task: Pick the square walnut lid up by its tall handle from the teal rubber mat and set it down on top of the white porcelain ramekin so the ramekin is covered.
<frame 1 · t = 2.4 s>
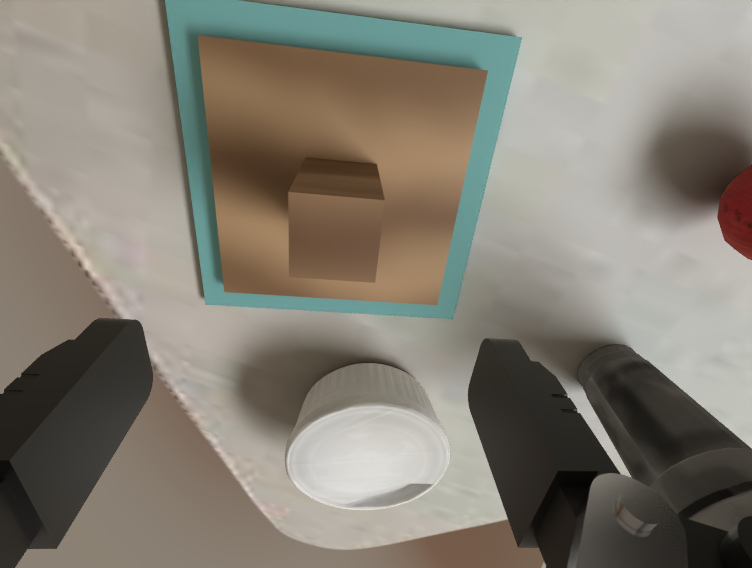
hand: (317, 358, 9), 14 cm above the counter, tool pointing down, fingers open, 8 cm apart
pomegranate: (729, 188, 23), on the counter
mat: (340, 188, 22), on the counter
lid: (340, 190, 21), resting on mat
beverage cup: (605, 366, 30), on the counter
ramekin: (365, 402, 31), on the counter
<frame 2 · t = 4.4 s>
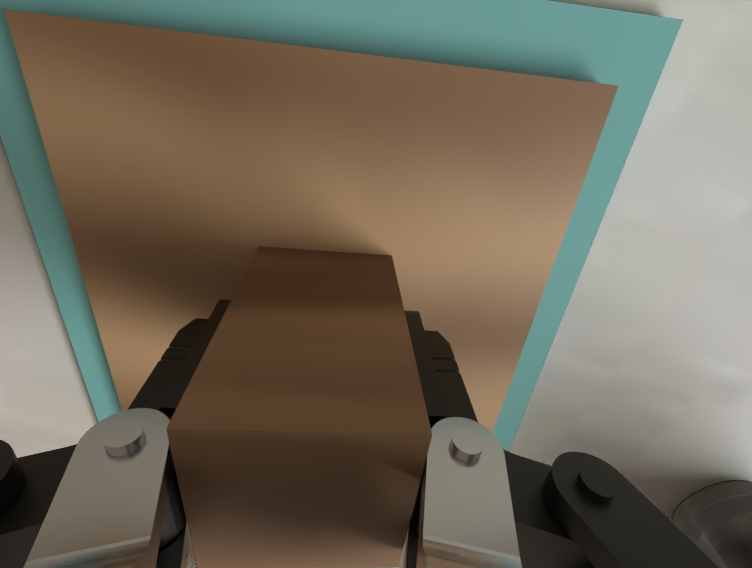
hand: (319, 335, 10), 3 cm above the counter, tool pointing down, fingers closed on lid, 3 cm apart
mat: (325, 285, 13), on the counter
lid: (325, 292, 12), resting on mat, touching gripper
beverage cup: (713, 503, 21), on the counter
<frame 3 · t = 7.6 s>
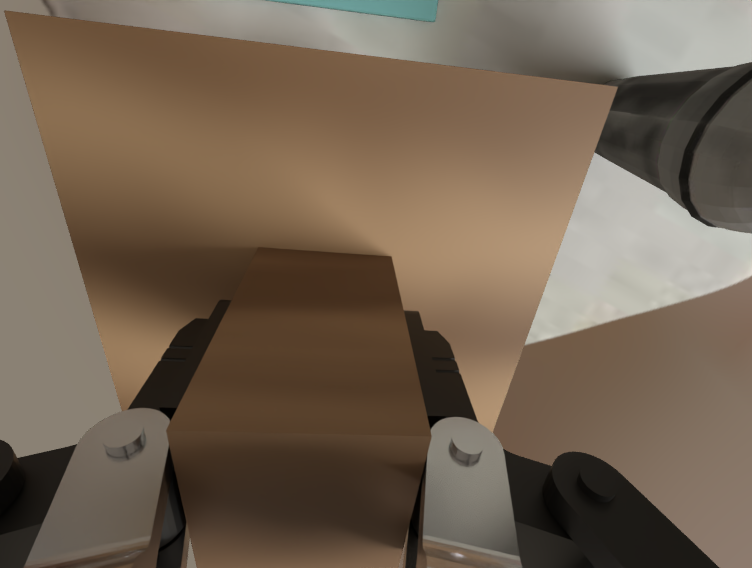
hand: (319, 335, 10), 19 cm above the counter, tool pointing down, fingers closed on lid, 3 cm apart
lid: (325, 293, 12), point 17 cm above the counter, touching gripper
beverage cup: (608, 116, 27), on the counter
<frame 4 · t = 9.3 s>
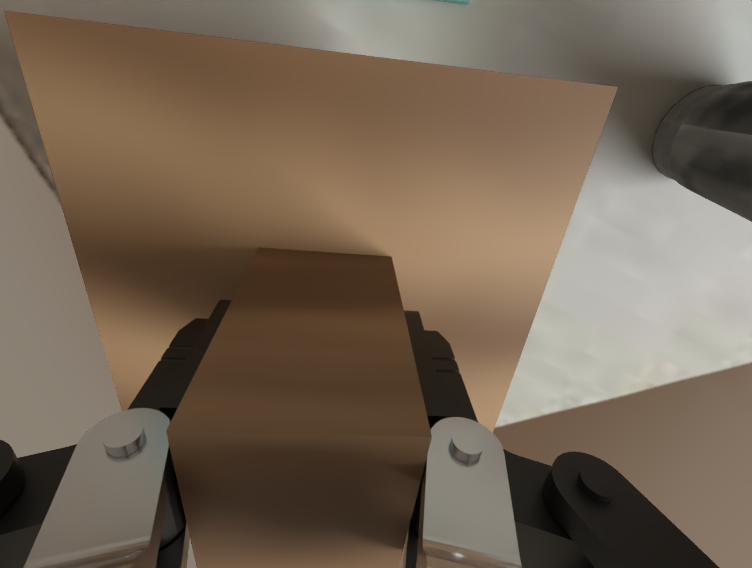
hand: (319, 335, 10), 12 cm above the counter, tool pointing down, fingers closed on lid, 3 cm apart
lid: (325, 293, 12), point 9 cm above the counter, touching gripper
beverage cup: (694, 134, 20), on the counter
when the fingers open (9 cm above the counter, at t = 10.8 s): lid drops 1 cm, resting on ramekin.
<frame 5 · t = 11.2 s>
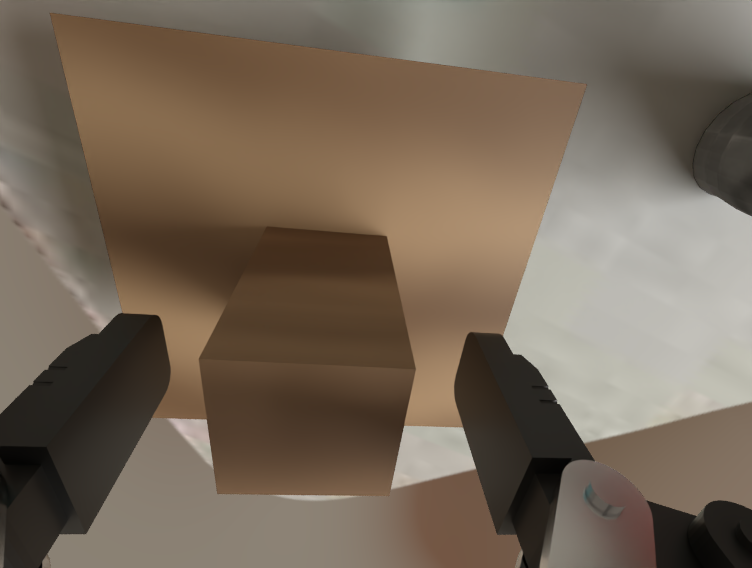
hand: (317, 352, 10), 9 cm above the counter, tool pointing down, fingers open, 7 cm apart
lid: (326, 271, 13), point 5 cm above the counter, touching ramekin
beverage cup: (741, 145, 17), on the counter
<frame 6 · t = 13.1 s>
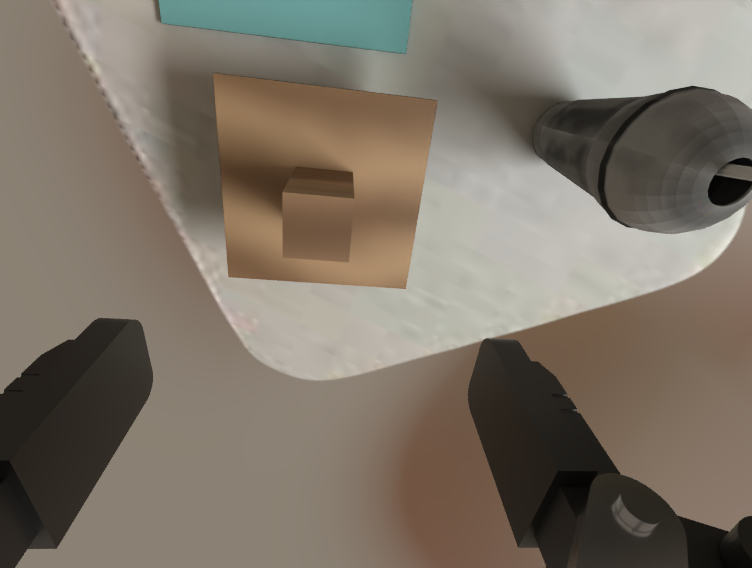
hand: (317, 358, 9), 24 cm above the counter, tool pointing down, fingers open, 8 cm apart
lid: (324, 193, 26), point 5 cm above the counter, touching ramekin
beverage cup: (560, 133, 31), on the counter
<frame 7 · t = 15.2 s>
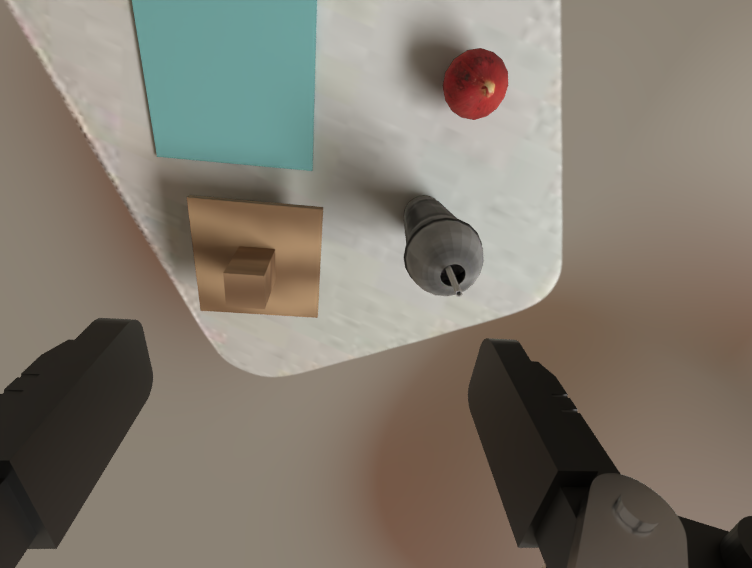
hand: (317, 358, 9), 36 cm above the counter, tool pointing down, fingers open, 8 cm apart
pomegranate: (464, 83, 39), on the counter
mat: (231, 79, 38), on the counter
lid: (259, 259, 42), point 5 cm above the counter, touching ramekin
beverage cup: (422, 213, 46), on the counter
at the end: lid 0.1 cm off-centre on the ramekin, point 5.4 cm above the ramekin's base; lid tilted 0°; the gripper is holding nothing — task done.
